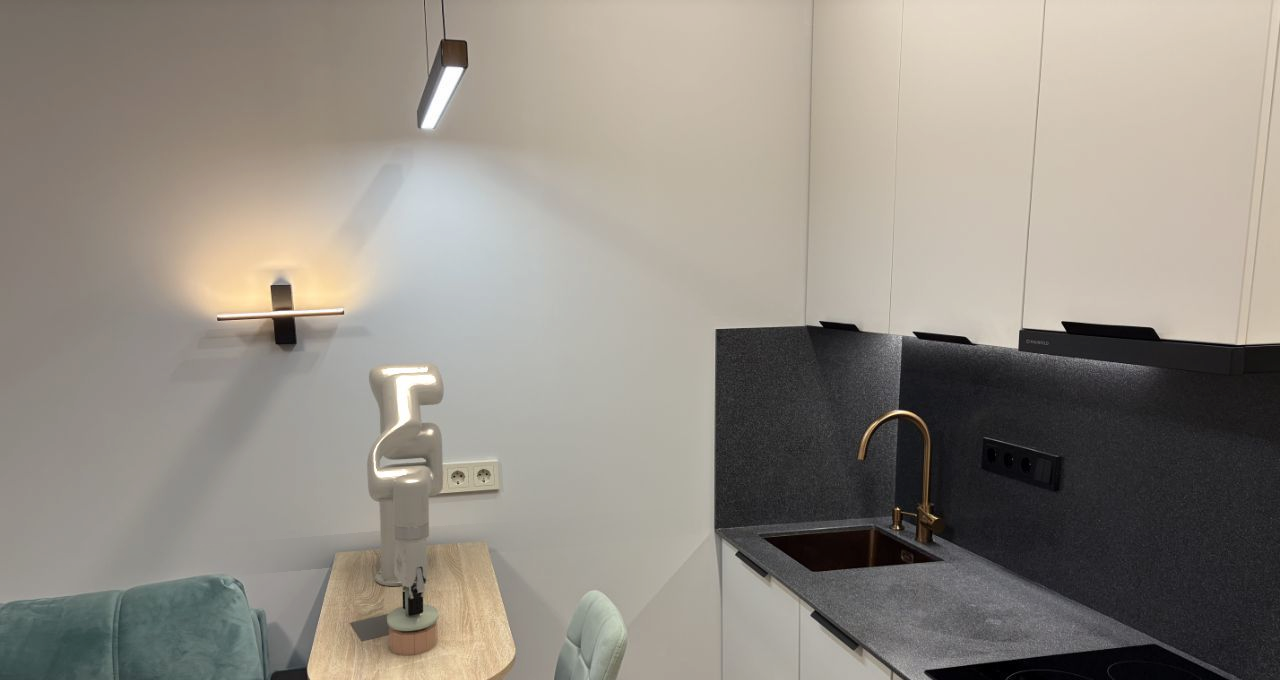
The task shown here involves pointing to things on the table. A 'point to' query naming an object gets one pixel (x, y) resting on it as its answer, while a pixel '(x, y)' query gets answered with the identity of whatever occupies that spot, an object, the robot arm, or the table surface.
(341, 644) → the table surface
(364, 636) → the mat
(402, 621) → the lid
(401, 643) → the bowl
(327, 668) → the table surface
